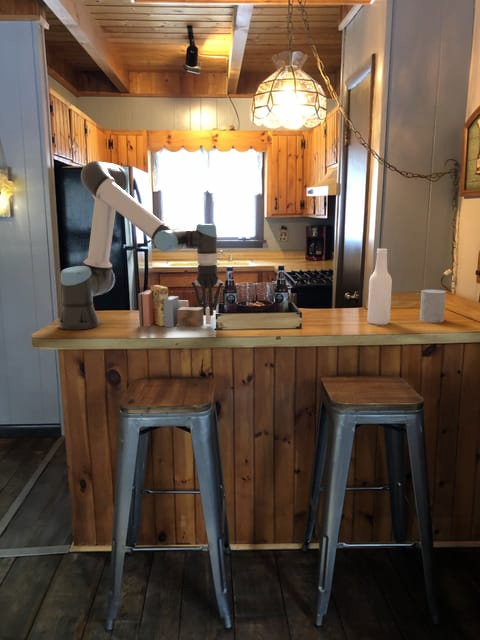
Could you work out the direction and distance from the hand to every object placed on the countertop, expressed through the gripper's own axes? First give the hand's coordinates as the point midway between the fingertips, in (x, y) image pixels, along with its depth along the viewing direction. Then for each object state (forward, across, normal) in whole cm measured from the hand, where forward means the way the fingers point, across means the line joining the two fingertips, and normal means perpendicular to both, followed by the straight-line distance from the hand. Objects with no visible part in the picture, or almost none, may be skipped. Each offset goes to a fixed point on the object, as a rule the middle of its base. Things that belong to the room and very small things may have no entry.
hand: (208, 323), depth 204 cm
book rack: (+1, -19, +2) cm, 19 cm away
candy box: (+1, -20, 0) cm, 20 cm away
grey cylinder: (+2, +89, +27) cm, 93 cm away
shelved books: (+1, -20, 0) cm, 20 cm away
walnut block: (+1, -7, 0) cm, 7 cm away
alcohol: (+2, +67, +18) cm, 69 cm away
